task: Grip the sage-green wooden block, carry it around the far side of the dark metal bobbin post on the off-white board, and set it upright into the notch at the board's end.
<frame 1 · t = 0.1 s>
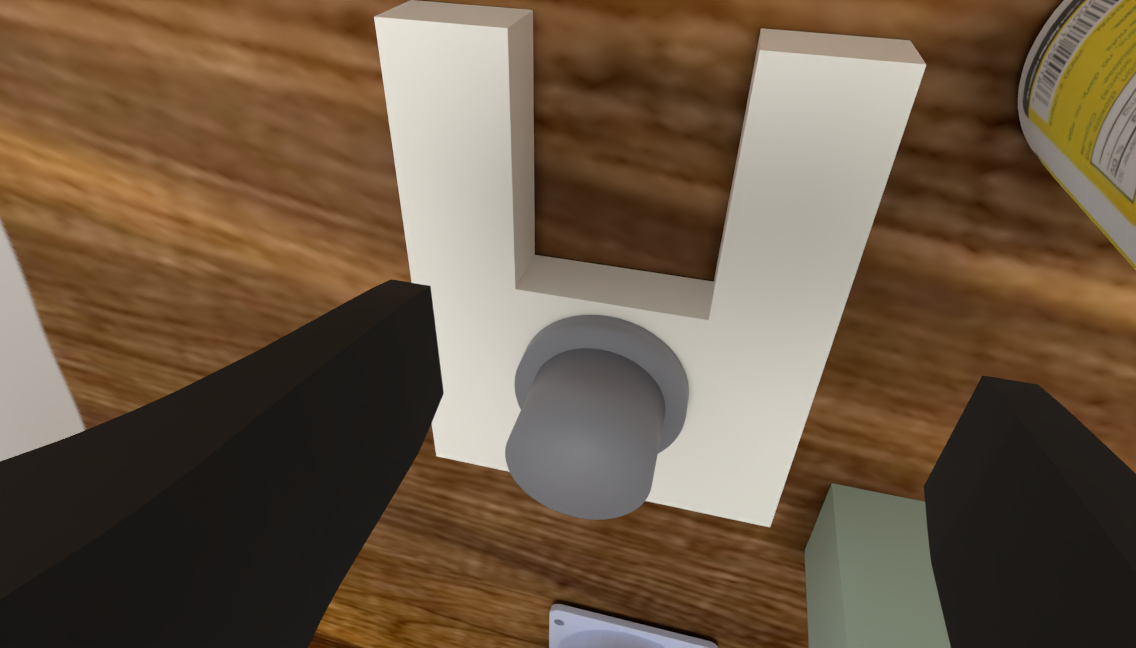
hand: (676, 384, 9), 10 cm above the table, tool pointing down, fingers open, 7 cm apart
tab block: (874, 530, 24), on the table
notched board: (620, 281, 20), on the table
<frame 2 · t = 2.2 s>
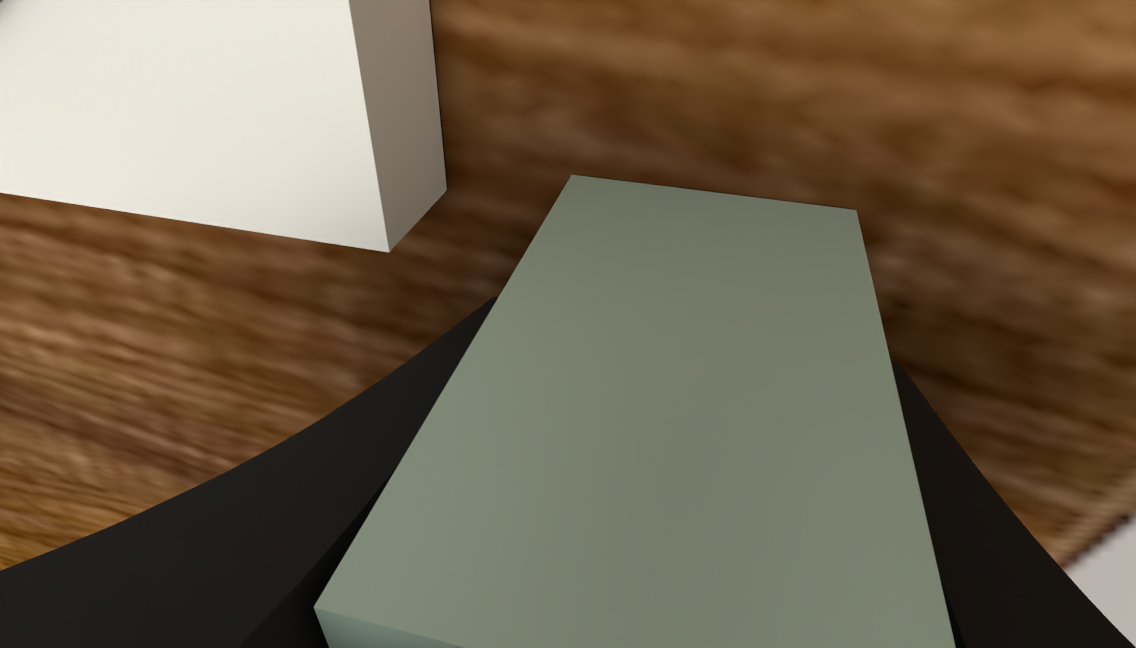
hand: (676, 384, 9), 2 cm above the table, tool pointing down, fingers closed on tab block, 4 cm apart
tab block: (689, 306, 11), on the table, touching gripper
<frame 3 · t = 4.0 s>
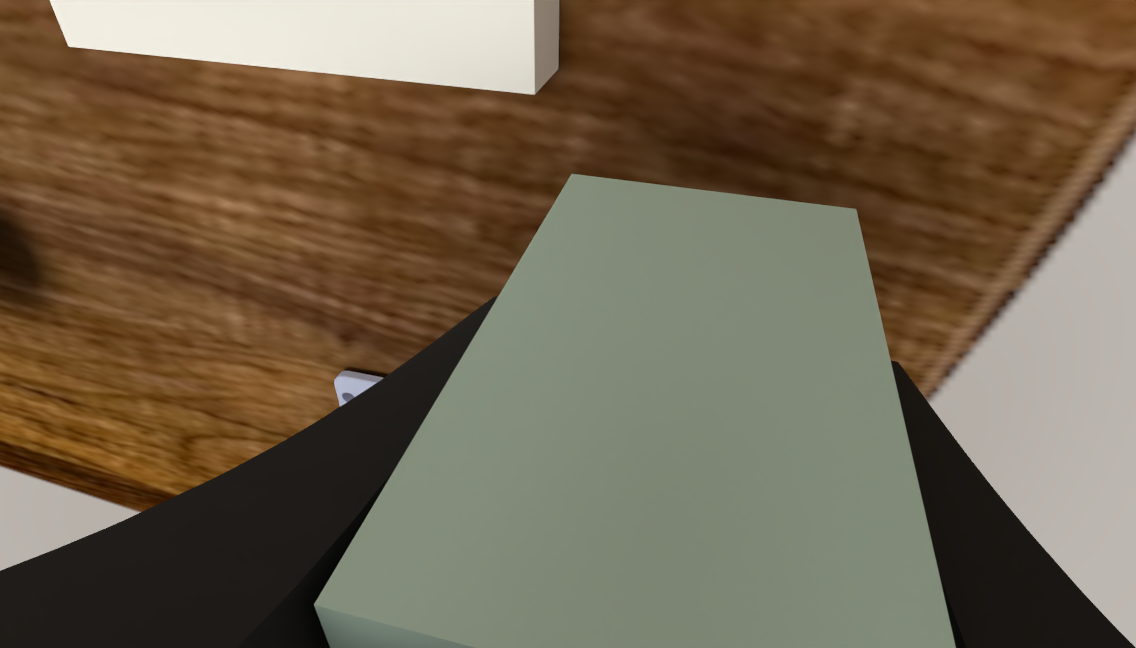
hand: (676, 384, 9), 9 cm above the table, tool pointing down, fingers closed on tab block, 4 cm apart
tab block: (689, 305, 11), point 7 cm above the table, touching gripper
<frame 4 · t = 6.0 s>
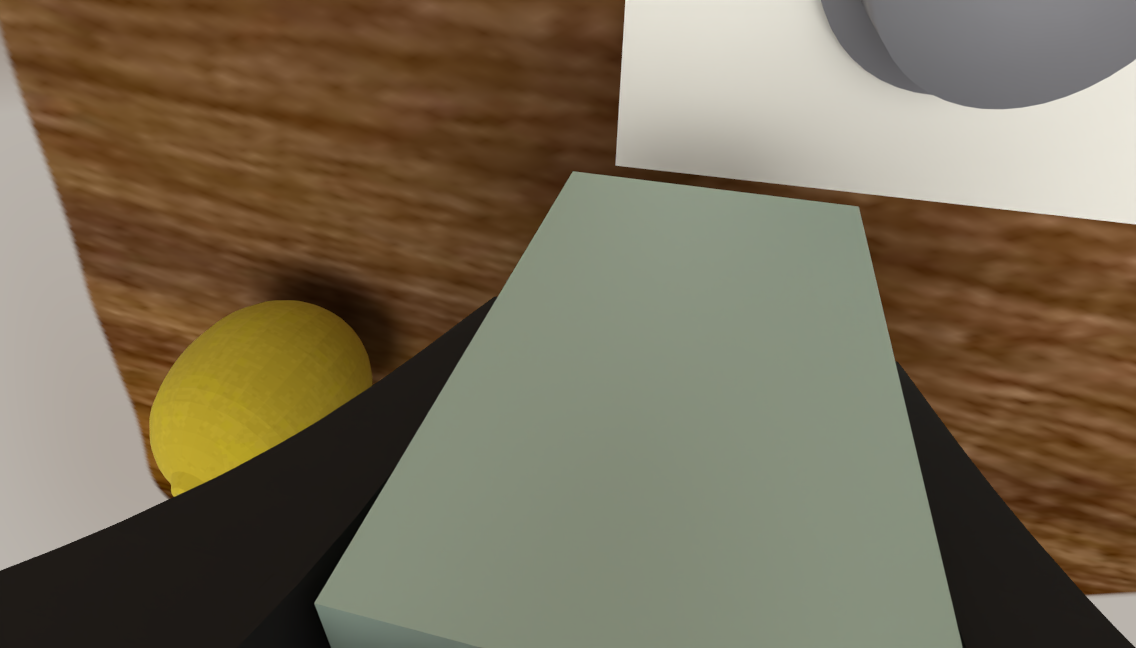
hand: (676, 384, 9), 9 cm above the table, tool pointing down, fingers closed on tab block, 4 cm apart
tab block: (691, 304, 11), point 8 cm above the table, touching gripper
lemon: (341, 321, 24), on the table
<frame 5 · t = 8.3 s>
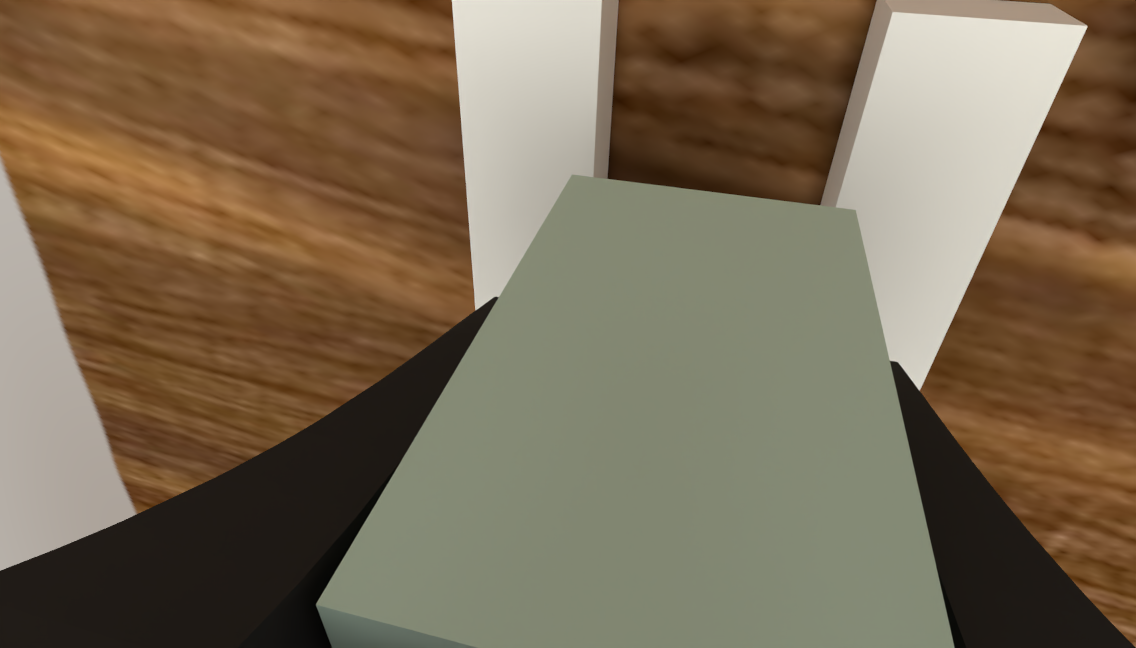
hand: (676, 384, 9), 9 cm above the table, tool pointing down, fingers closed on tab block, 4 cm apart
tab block: (689, 306, 11), point 7 cm above the table, touching gripper
notched board: (696, 275, 19), on the table
when the fingers open (3 cm above the table, at t = 10.2 s): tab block drops 1 cm, resting in notched board.
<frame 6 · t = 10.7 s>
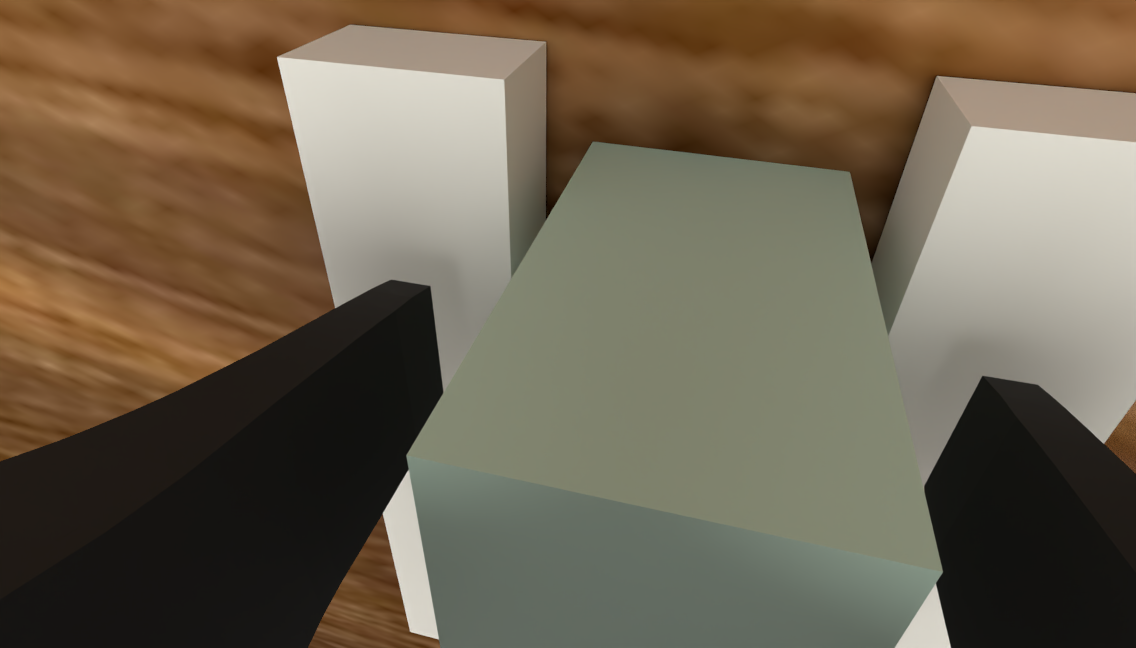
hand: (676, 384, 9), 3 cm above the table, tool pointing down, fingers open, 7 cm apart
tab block: (698, 264, 12), resting in notched board
notched board: (670, 427, 14), on the table
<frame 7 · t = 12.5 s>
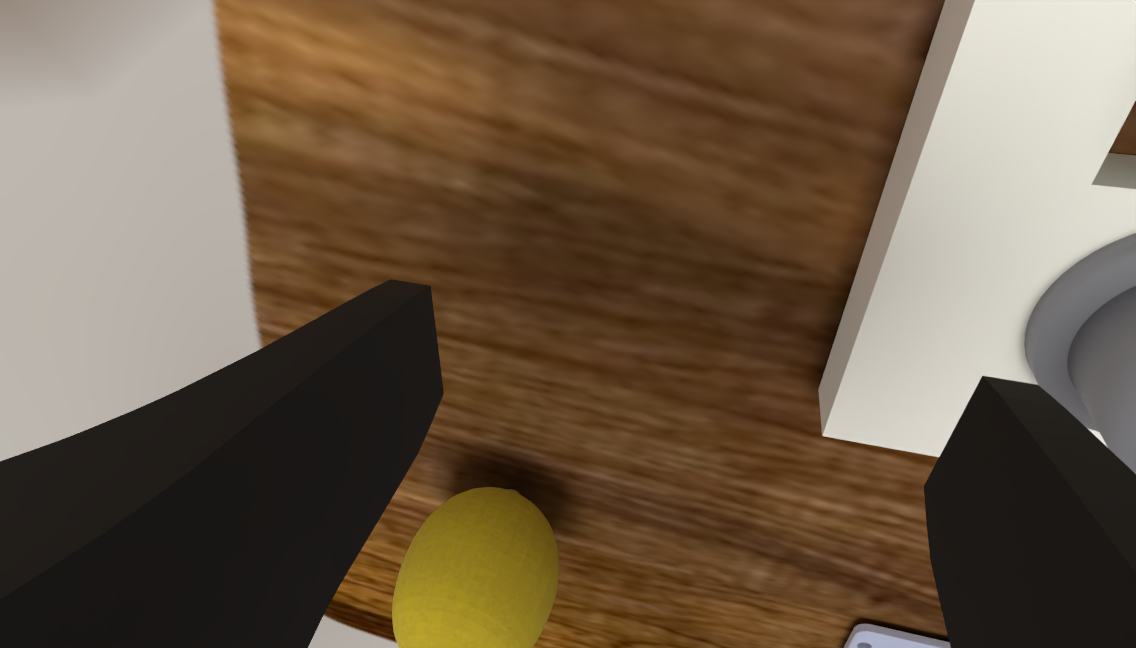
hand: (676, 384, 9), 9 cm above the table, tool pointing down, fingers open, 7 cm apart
lemon: (515, 488, 27), on the table
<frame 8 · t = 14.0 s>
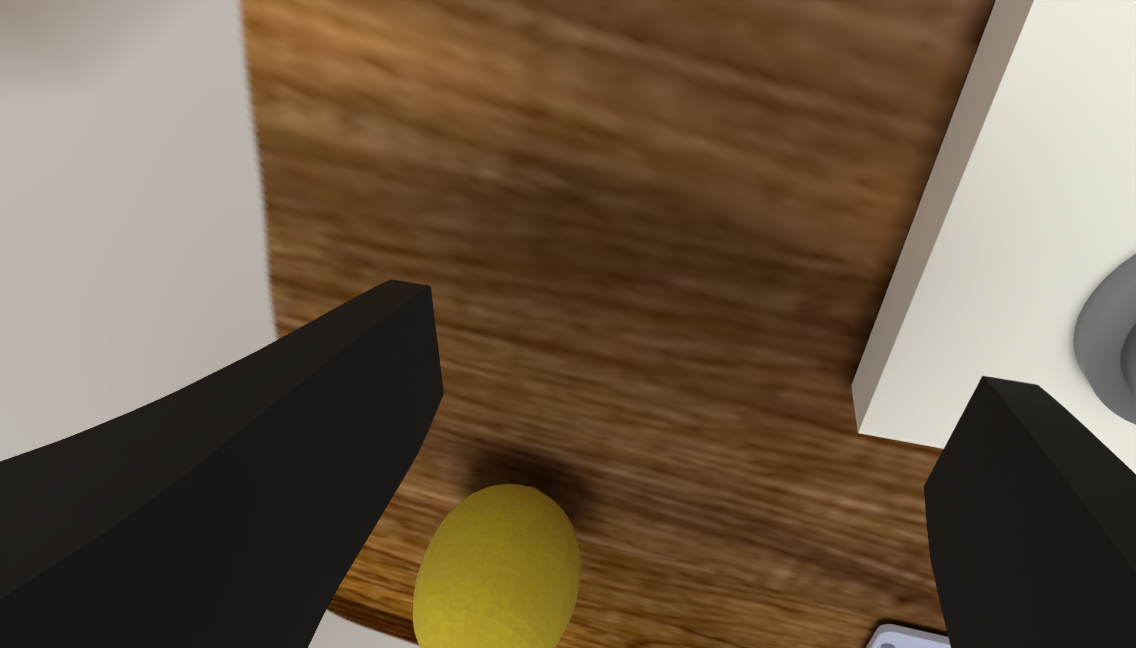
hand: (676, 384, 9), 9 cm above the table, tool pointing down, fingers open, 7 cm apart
lemon: (533, 486, 26), on the table
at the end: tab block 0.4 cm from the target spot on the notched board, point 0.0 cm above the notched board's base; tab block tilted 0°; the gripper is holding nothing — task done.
